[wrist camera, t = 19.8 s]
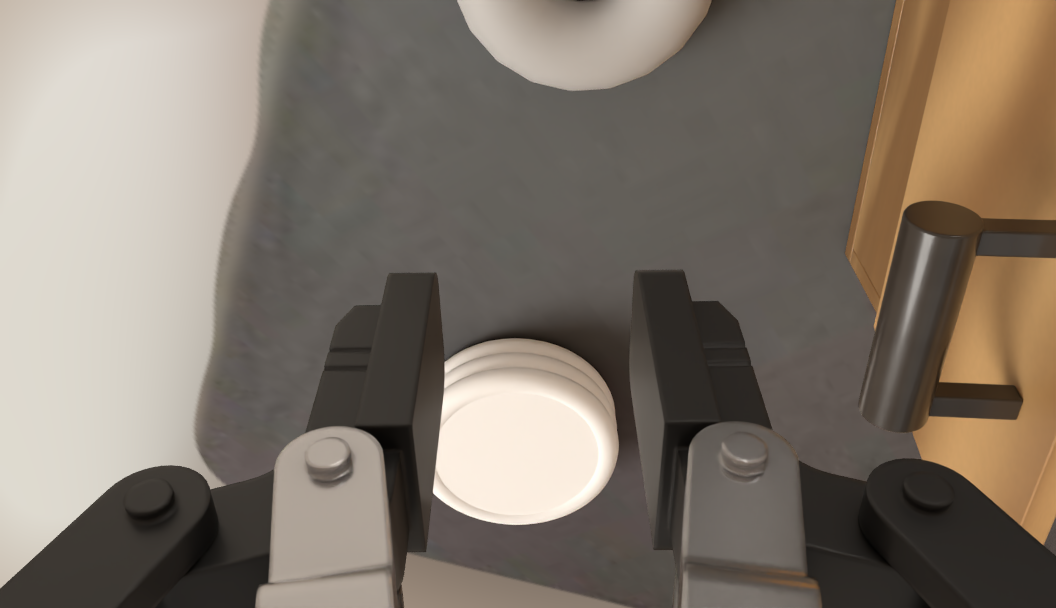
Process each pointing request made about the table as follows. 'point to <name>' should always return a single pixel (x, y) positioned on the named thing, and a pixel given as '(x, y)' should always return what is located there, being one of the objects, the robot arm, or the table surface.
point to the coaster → (523, 432)
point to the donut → (583, 37)
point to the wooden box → (893, 138)
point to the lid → (979, 265)
